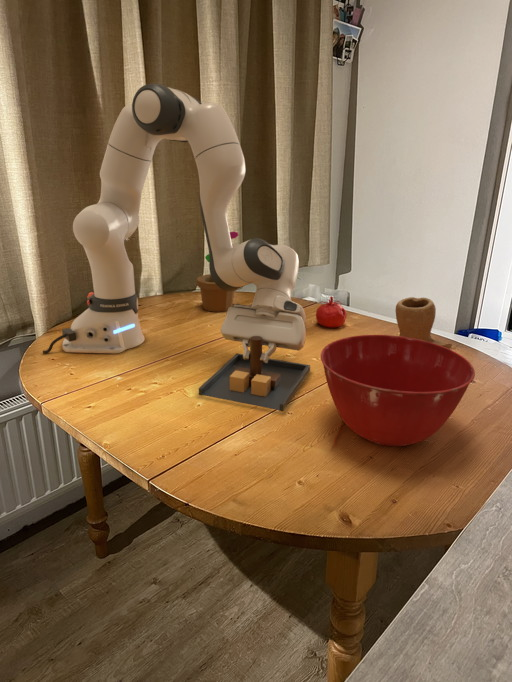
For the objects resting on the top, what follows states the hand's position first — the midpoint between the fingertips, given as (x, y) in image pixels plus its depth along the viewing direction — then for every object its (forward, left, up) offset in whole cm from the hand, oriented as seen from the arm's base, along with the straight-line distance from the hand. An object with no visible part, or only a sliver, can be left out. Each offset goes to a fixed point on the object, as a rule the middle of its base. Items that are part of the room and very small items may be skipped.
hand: (254, 360), depth 115 cm
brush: (0, +1, -6) cm, 6 cm away
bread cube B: (-4, -1, -6) cm, 7 cm away
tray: (+1, +2, -7) cm, 7 cm away
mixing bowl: (+24, -21, -7) cm, 33 cm away
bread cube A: (+1, -4, -6) cm, 7 cm away
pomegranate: (+31, +41, -7) cm, 51 cm away
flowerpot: (-3, +64, -7) cm, 64 cm away
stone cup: (+49, +17, -7) cm, 52 cm away
